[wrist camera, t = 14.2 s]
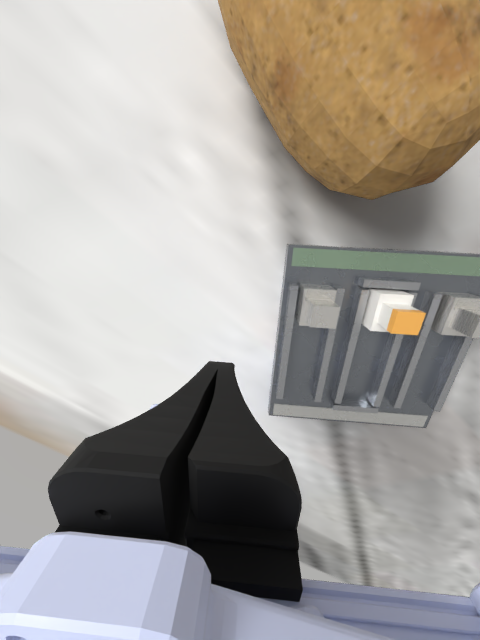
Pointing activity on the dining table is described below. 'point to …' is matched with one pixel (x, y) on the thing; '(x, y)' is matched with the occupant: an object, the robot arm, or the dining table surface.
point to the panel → (370, 334)
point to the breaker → (392, 312)
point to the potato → (364, 85)
